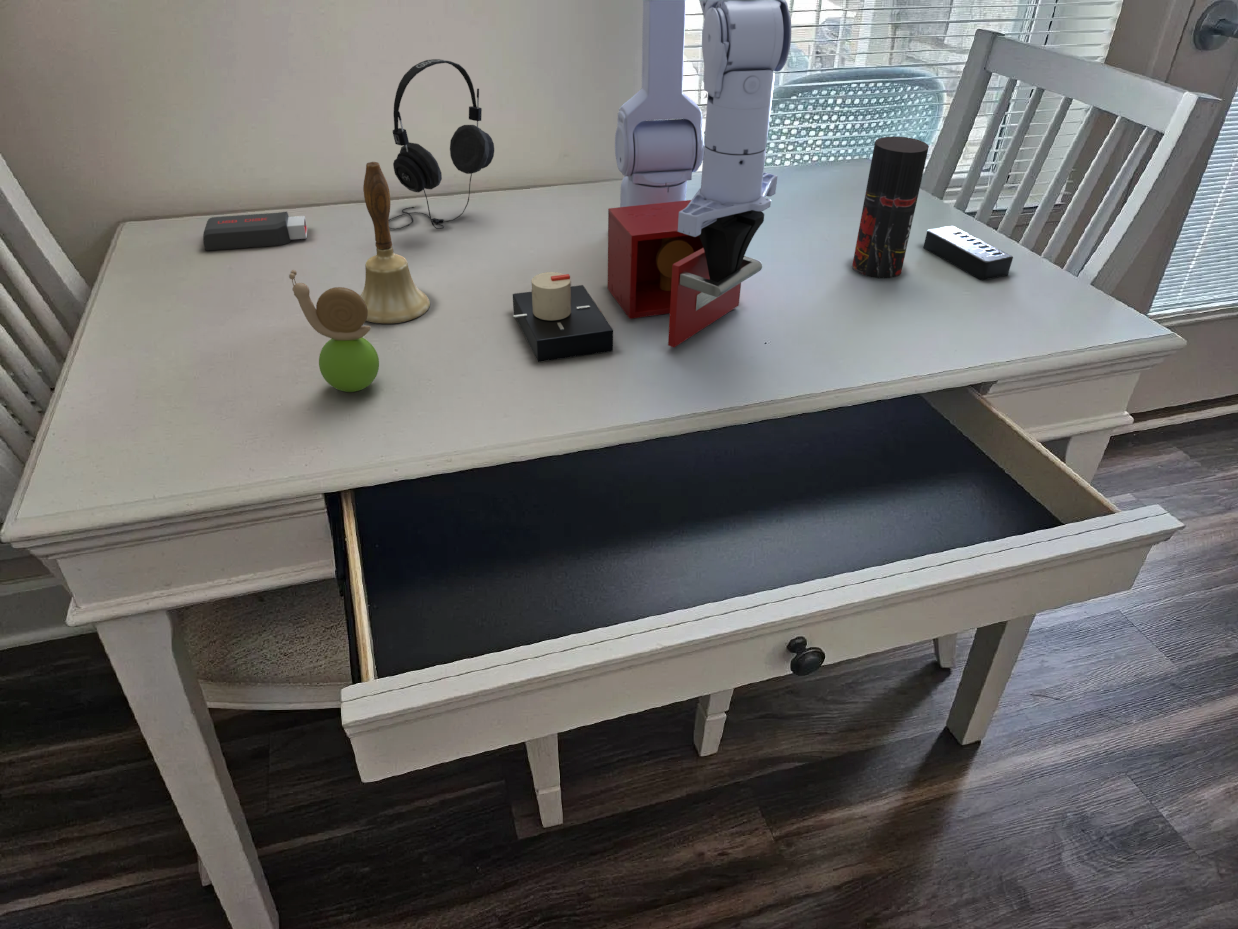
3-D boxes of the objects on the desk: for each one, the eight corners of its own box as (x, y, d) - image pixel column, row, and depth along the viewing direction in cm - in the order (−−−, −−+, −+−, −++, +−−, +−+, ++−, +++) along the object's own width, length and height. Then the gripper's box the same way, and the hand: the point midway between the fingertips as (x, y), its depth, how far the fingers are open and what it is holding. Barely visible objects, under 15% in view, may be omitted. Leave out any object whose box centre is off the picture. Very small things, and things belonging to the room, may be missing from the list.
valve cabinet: (607, 288, 104) (608, 208, 98) (707, 275, 107) (713, 197, 101) (629, 319, 98) (631, 235, 92) (734, 304, 101) (743, 222, 95)
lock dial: (538, 323, 91) (536, 287, 89) (528, 306, 94) (527, 271, 92) (575, 317, 92) (575, 283, 90) (565, 301, 95) (564, 267, 93)
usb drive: (210, 234, 114) (205, 213, 113) (307, 227, 117) (303, 207, 115) (205, 250, 110) (199, 229, 109) (306, 243, 113) (302, 222, 111)
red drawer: (667, 345, 92) (672, 264, 87) (732, 303, 100) (740, 226, 95) (712, 363, 90) (720, 280, 84) (776, 318, 98) (786, 240, 92)
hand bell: (443, 297, 101) (427, 155, 92) (406, 329, 95) (385, 181, 85) (379, 285, 103) (357, 145, 94) (338, 316, 97) (311, 170, 87)
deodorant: (902, 280, 107) (930, 154, 98) (852, 275, 108) (875, 150, 99) (900, 260, 112) (927, 138, 103) (852, 256, 112) (874, 134, 103)
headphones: (447, 193, 128) (432, 41, 116) (506, 211, 123) (497, 54, 111) (366, 224, 118) (341, 62, 106) (427, 245, 113) (407, 77, 101)
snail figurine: (319, 374, 87) (295, 258, 80) (386, 372, 88) (367, 257, 81) (308, 404, 83) (281, 285, 76) (378, 402, 83) (358, 283, 76)
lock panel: (503, 315, 98) (502, 293, 96) (583, 305, 100) (583, 283, 99) (527, 364, 90) (525, 340, 88) (613, 351, 92) (613, 328, 90)
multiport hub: (981, 280, 107) (987, 262, 106) (921, 246, 115) (925, 229, 114) (1009, 274, 109) (1015, 256, 107) (948, 241, 117) (952, 224, 115)
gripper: (730, 175, 75) (716, 319, 83) (811, 135, 84) (792, 269, 93) (662, 157, 79) (655, 298, 87) (747, 121, 88) (734, 251, 96)
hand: (722, 282), depth 90 cm, fingers closed, pressing on red drawer
